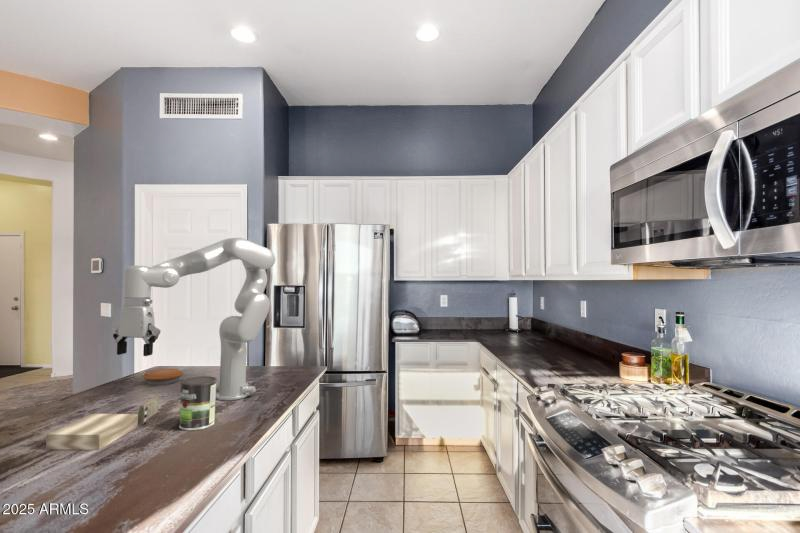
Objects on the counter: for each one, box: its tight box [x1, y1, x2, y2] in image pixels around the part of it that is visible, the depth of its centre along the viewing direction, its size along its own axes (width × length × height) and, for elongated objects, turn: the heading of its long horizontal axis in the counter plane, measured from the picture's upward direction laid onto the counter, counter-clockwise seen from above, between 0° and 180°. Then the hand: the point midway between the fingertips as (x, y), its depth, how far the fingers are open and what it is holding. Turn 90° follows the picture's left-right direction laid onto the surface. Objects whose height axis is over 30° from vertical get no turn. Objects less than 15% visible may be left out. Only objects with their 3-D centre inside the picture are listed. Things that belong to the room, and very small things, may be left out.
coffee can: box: [178, 375, 218, 431], centre depth 124 cm, size 10×10×14 cm
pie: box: [142, 368, 184, 386], centre depth 172 cm, size 15×16×5 cm
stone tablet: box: [138, 395, 160, 426], centre depth 128 cm, size 6×4×12 cm
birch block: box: [45, 413, 139, 451], centre depth 113 cm, size 14×16×4 cm
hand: (134, 354), depth 128 cm, fingers open, 9 cm apart
